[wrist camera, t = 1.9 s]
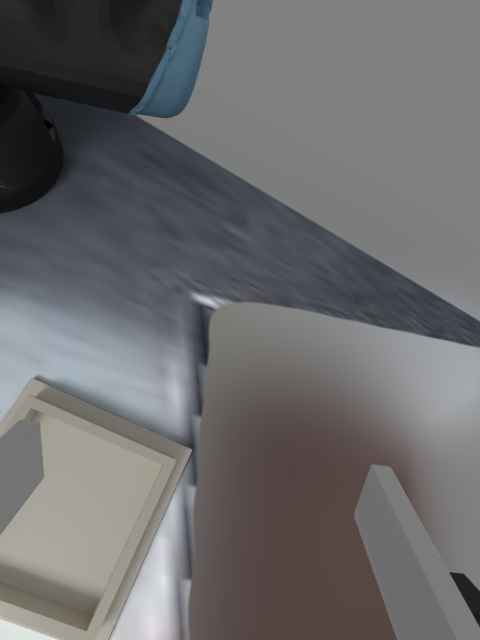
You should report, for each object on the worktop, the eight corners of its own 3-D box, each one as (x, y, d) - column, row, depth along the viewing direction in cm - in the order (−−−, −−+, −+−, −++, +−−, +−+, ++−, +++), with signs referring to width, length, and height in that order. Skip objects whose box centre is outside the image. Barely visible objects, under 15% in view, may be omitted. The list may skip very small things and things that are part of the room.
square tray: (-102, 577, 23) (-130, 595, 21) (33, 378, 29) (22, 375, 27) (102, 650, 25) (97, 674, 23) (191, 449, 31) (194, 452, 29)
